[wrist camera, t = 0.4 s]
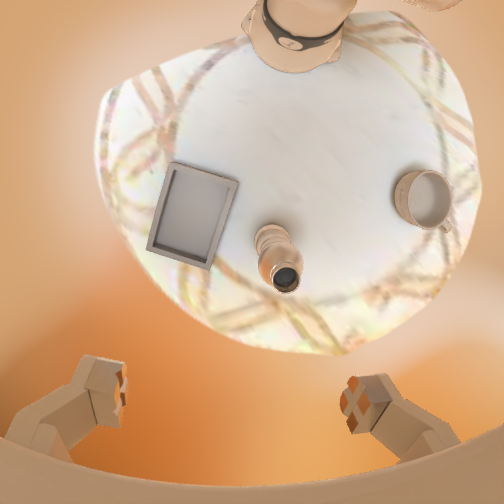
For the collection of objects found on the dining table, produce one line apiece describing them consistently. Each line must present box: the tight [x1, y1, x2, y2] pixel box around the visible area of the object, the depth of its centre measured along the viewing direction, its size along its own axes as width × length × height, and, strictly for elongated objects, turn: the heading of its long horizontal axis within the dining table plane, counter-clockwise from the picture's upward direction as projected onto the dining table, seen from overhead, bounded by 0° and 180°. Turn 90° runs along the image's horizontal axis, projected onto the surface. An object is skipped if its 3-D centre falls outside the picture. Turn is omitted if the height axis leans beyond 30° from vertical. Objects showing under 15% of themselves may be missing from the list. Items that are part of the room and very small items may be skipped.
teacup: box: [395, 170, 452, 233], centre depth 52 cm, size 14×11×8 cm
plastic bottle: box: [254, 224, 303, 294], centre depth 47 cm, size 6×7×20 cm
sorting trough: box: [146, 162, 238, 270], centre depth 53 cm, size 16×12×4 cm
